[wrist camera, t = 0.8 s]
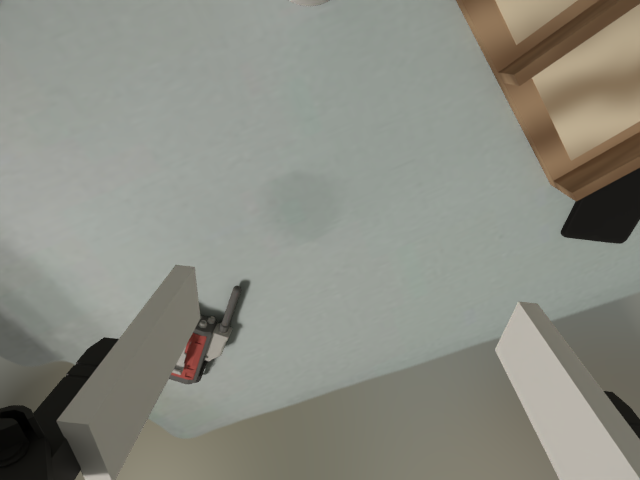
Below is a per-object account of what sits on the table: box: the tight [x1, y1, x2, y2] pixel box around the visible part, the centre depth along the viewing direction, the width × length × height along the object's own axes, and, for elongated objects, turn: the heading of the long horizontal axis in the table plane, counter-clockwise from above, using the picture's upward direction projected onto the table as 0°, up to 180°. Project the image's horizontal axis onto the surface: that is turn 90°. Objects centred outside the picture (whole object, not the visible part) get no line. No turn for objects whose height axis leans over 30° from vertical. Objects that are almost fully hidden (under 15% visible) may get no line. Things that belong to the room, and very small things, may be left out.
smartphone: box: [561, 168, 640, 243], centre depth 33 cm, size 7×1×15 cm
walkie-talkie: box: [169, 286, 241, 384], centre depth 46 cm, size 9×4×20 cm
